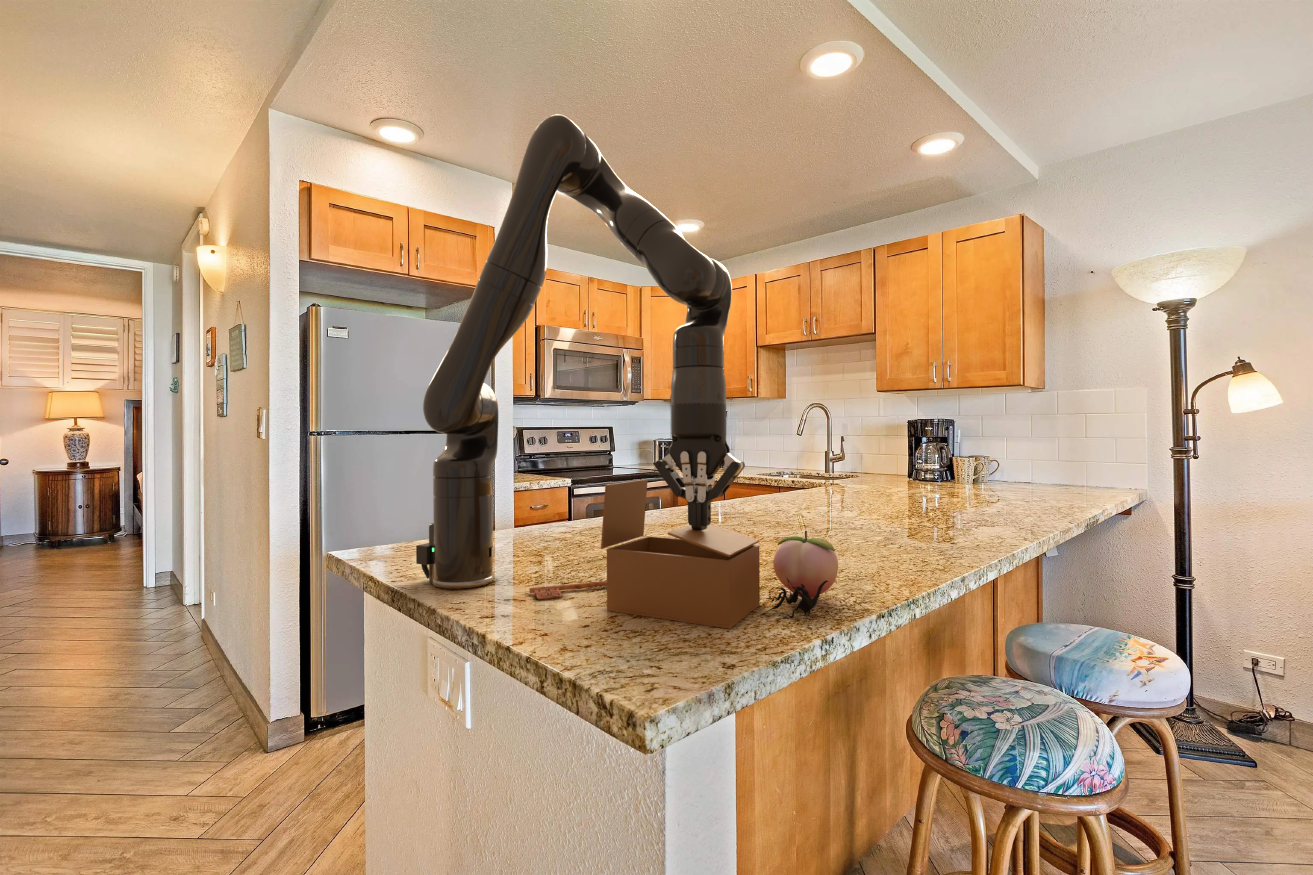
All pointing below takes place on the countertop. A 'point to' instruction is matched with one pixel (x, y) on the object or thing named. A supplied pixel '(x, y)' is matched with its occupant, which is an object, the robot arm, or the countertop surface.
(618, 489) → the carton
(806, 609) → the creature
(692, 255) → the robot arm
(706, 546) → the flap
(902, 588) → the countertop surface
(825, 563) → the decorative fruit
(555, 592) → the key
